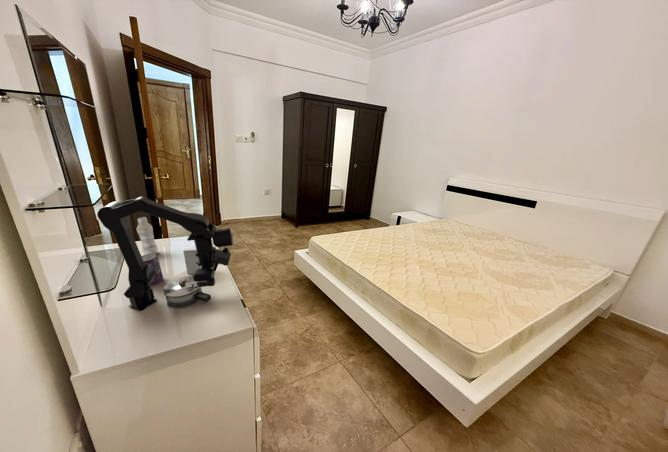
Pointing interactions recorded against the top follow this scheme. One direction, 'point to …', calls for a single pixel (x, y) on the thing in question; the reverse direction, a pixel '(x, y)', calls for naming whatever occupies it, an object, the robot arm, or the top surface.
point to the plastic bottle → (146, 236)
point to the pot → (188, 300)
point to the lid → (185, 286)
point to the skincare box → (191, 259)
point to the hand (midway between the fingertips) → (212, 281)
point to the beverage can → (154, 267)
